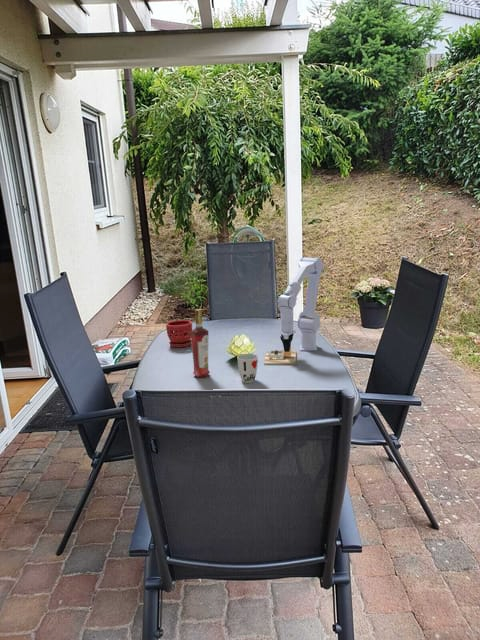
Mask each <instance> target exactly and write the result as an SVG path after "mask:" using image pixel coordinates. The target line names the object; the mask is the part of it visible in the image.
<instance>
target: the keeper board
mask: <svg viewBox="0 0 480 640" xmlns="http://www.w3.org/2000/svg"><path fill="white" fill-rule="evenodd" d="M269 351H270V350H266V351H265V357H264V361H263V365H265V366H268V365H269V366H270V365H271V366H272V365H273V366H274V365H275V366H296V365H297V351H296V350H291V356H284V357H280V358H268V354H269ZM273 351H274V354H282V353H278V351H279V350H277V349H275V350H273Z"/></svg>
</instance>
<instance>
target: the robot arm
mask: <svg viewBox="0 0 480 640" xmlns="http://www.w3.org/2000/svg"><path fill="white" fill-rule="evenodd" d="M323 269H324V262H323V260H322V258H321V257H310V256H309V257H306V256H302V257H301V258H300V260H299V262H298V271H297V272H296V275H295V277H294V279H293V281H290V282H289V283H288V286H287V287H286V289H285V291H284V292H283V294H281V295H279V297H278V299H277V306H278V310H279V311H280V312H279V314H280V330H279V331H280V332H279V334H280V341H281V342H282V343H281V344H282V346H283V350H284V351H285V352H289V350H290V344H291V345H292V341H293V339H294V334H296V332H297V330H294V308H295V306H296V304H297V300H298V298H297V296H298V295H299V293H300V292H301V289H302V286H301V284H302V283H303V281H304V280H305V279H306V277H308V280H307V289H306V294H305V304H304V310H302V311H301V312H299V315H298V318H297V321H296V325H297V328H298V330H299V331H300V345H299V348H300V349H299V350H300V351H315V352H317V351H318V346H317V332H318V330H319V329H320V328H321V327H320V326H321V320H320V319H321V316H320V315H319V313H317V311H316V308H317V299H318V293H319V286H320V278H321V276H323Z"/></svg>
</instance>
